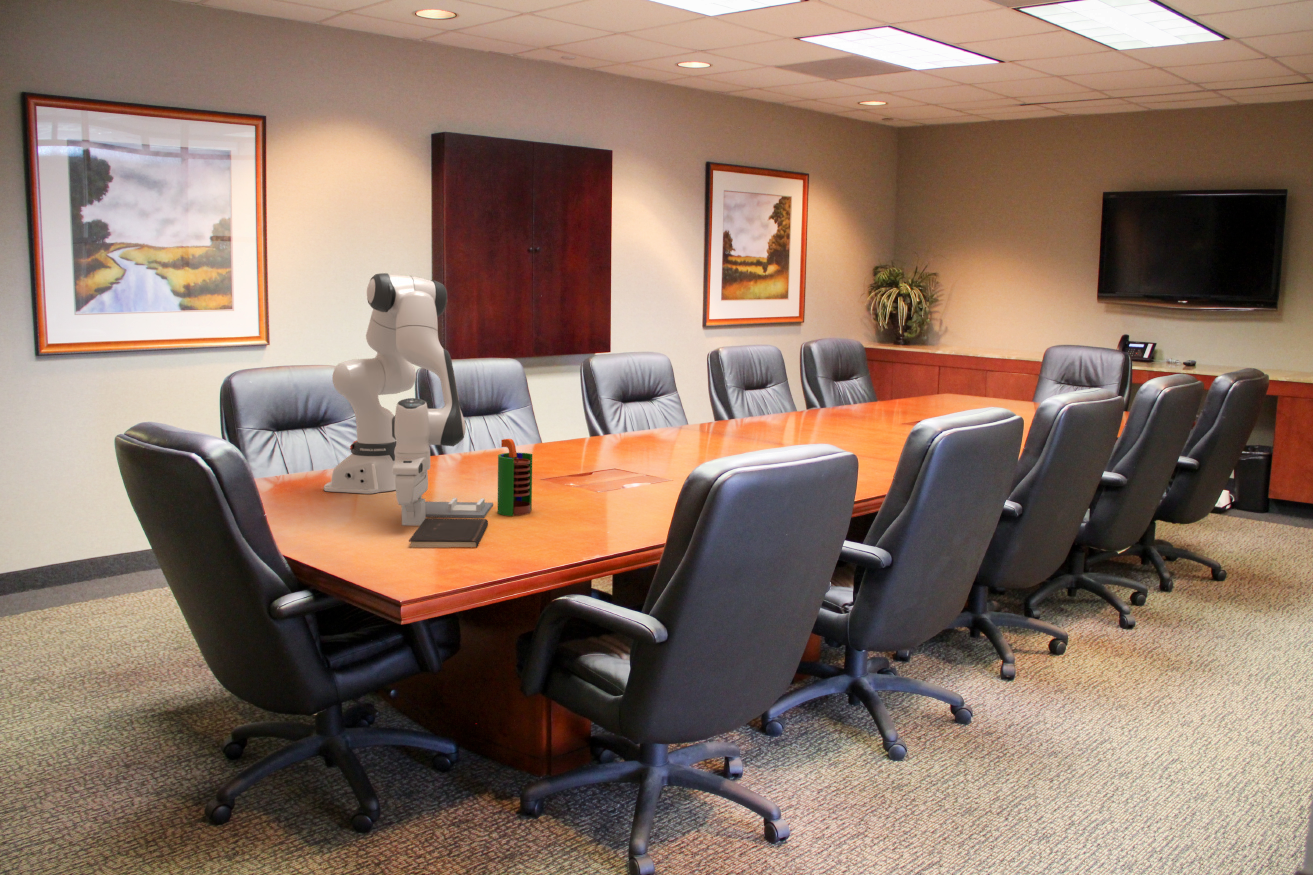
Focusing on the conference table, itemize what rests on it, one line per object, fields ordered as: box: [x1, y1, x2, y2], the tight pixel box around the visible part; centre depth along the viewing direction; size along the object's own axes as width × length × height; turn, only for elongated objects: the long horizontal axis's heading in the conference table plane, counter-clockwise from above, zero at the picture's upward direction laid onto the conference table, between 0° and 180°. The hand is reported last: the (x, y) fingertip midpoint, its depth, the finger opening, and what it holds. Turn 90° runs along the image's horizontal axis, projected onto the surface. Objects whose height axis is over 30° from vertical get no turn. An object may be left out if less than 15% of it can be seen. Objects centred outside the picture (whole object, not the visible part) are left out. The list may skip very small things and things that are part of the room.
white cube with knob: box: [401, 498, 427, 526], centre depth 274 cm, size 5×5×8 cm
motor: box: [497, 438, 533, 517], centre depth 288 cm, size 10×9×20 cm
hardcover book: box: [408, 517, 489, 549], centre depth 262 cm, size 16×23×2 cm
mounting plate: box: [425, 497, 494, 519], centre depth 289 cm, size 20×16×3 cm
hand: (413, 515), depth 274 cm, fingers closed on white cube with knob, 5 cm apart
